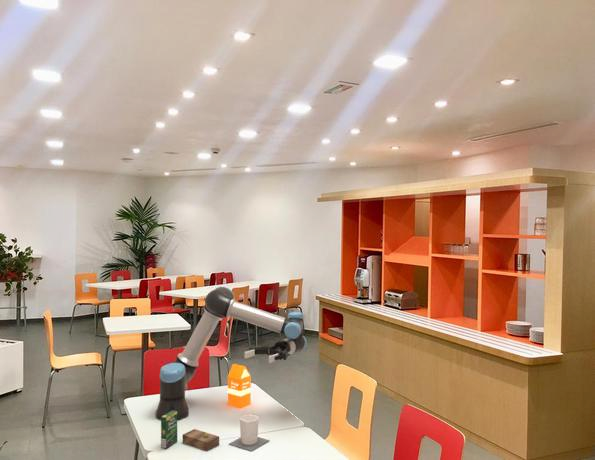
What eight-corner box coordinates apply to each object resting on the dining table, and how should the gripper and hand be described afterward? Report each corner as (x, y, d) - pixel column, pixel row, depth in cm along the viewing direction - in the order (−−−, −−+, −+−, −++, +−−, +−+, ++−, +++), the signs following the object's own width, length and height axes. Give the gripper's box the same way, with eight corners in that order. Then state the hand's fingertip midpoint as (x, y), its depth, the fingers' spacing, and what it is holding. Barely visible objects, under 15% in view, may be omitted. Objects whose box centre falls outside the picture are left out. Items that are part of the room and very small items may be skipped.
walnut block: (182, 443, 210) (182, 431, 210) (194, 437, 216) (194, 426, 216) (207, 451, 202) (207, 439, 202) (219, 445, 208) (219, 433, 208)
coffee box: (166, 449, 203) (166, 417, 203) (160, 448, 204) (160, 416, 204) (177, 441, 211) (178, 410, 211) (172, 440, 212) (172, 409, 212)
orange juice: (237, 400, 262) (238, 362, 261) (250, 404, 256) (250, 364, 256) (227, 404, 255) (227, 365, 255) (240, 408, 250) (240, 368, 250)
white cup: (255, 446, 205) (255, 422, 205) (237, 444, 207) (237, 420, 207) (261, 438, 213) (261, 415, 213) (243, 437, 215) (243, 413, 215)
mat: (228, 444, 208) (228, 443, 208) (247, 434, 218) (247, 433, 218) (251, 451, 202) (251, 450, 202) (269, 441, 212) (269, 440, 212)
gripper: (306, 359, 235) (279, 370, 217) (263, 352, 249) (235, 361, 231) (306, 343, 235) (280, 353, 217) (263, 337, 249) (235, 345, 231)
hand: (256, 357), depth 224 cm, fingers open, 13 cm apart
